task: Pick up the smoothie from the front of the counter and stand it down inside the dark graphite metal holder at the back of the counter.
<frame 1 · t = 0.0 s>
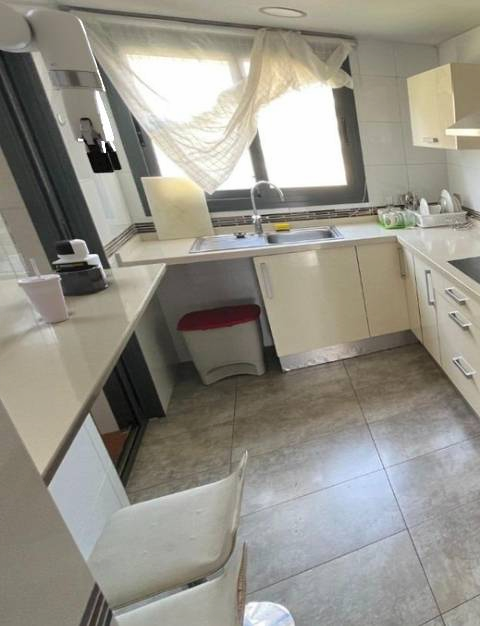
hand: (108, 171, 98), 31 cm above the countertop, tool pointing down, fingers open, 9 cm apart
smoothie: (57, 320, 101), on the countertop
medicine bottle: (85, 283, 127), on the countertop
stand: (85, 290, 121), on the countertop
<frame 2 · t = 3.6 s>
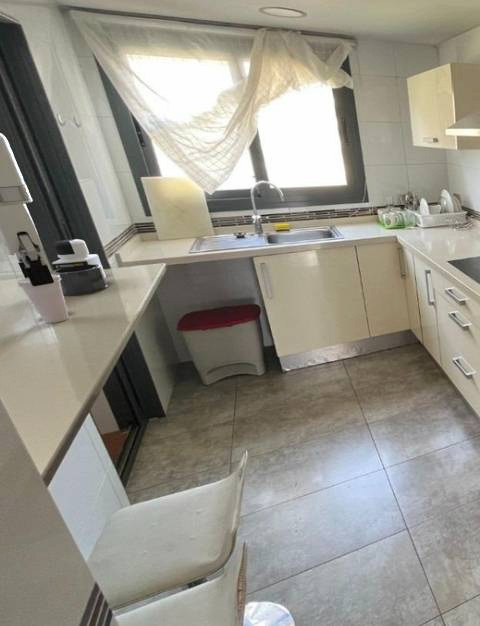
hand: (39, 280, 98), 9 cm above the countertop, tool pointing down, fingers closed on smoothie, 6 cm apart
smoothie: (57, 320, 101), on the countertop, touching gripper
everything else where it was.
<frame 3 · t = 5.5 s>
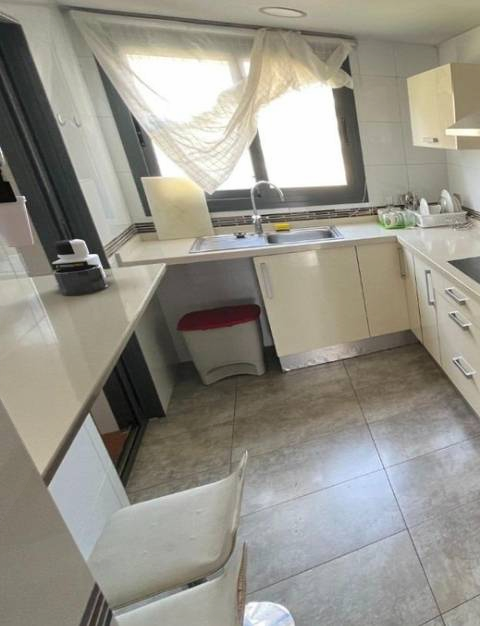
hand: (2, 200, 92), 26 cm above the countertop, tool pointing down, fingers closed on smoothie, 6 cm apart
smoothie: (21, 246, 95), point 17 cm above the countertop, touching gripper
everything else where it was.
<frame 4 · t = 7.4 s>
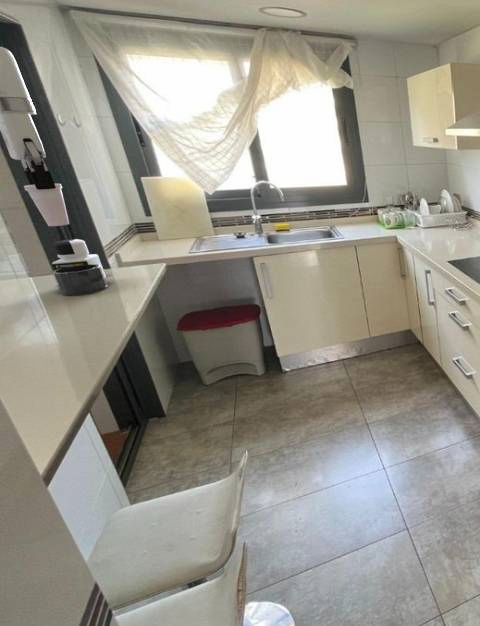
hand: (43, 187, 111), 26 cm above the countertop, tool pointing down, fingers closed on smoothie, 6 cm apart
smoothie: (59, 225, 114), point 17 cm above the countertop, touching gripper
everything else where it was.
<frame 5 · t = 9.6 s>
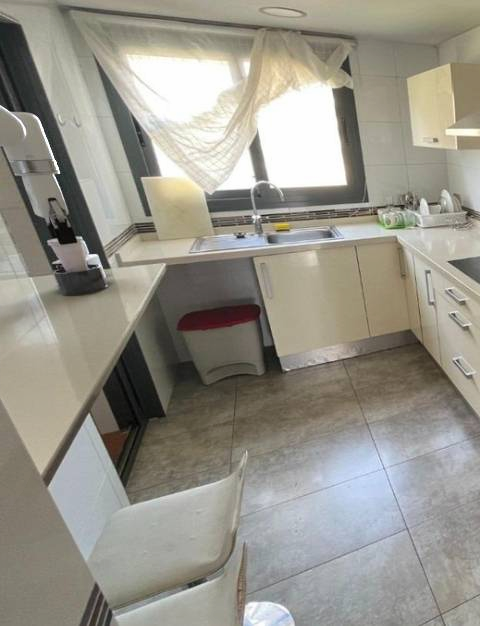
hand: (65, 241, 116), 13 cm above the countertop, tool pointing down, fingers closed on smoothie, 6 cm apart
smoothie: (79, 276, 119), point 4 cm above the countertop, touching gripper
everything else where it was.
when the fingers open (10 cm above the countertop, at t = 11.2 s): smoothie stays where it is, resting on stand.
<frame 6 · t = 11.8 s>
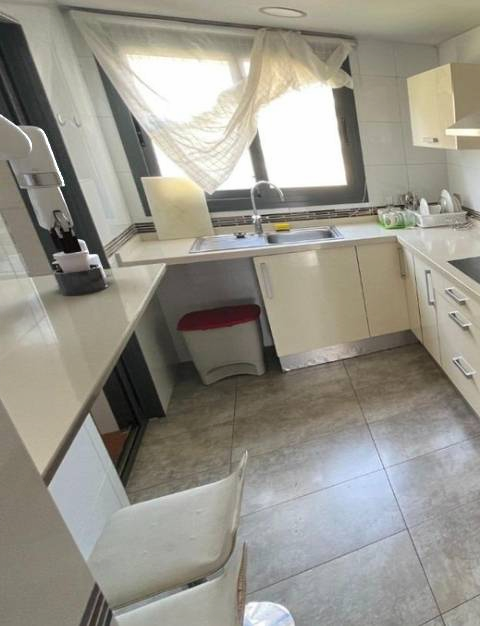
hand: (68, 250, 117), 11 cm above the countertop, tool pointing down, fingers open, 9 cm apart
smoothie: (84, 289, 121), resting on stand
everything else where it was.
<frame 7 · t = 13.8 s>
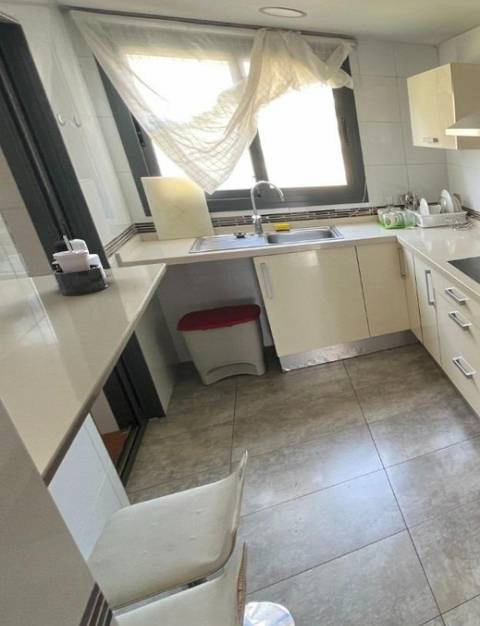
nothing on the countertop moved.
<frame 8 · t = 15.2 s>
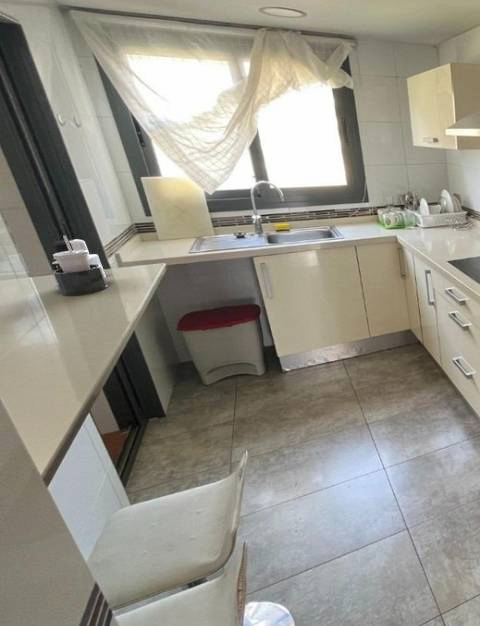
nothing on the countertop moved.
at the end: smoothie 0.0 cm off-centre in the stand, point 0.4 cm above the stand's base; smoothie tilted 0°; the gripper is holding nothing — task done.
